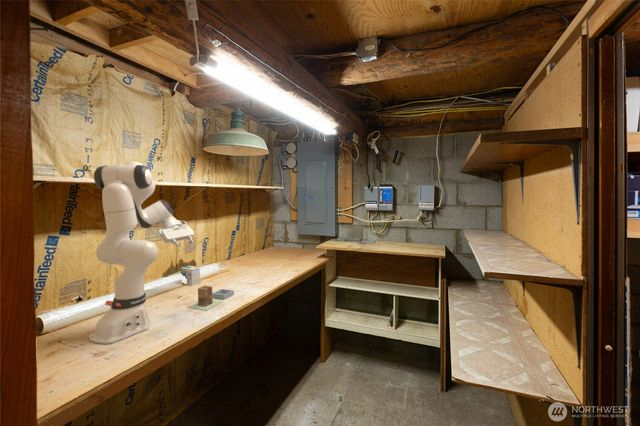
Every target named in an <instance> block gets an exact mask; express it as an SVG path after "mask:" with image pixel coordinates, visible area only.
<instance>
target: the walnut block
mask: <svg viewBox="0 0 640 426" xmlns="http://www.w3.org/2000/svg"><path fill="white" fill-rule="evenodd" d="M212 293H213V286H209V285H203V286H200V287H199V288H197V302H198V305H200V306H205V307H206V306H208V305H210V304H212V303H213V300H214V298H212Z"/></svg>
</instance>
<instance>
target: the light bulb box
mask: <svg viewBox="0 0 640 426" xmlns="http://www.w3.org/2000/svg"><path fill="white" fill-rule="evenodd" d="M181 274H182V275H183V276H185V278H186V279H187V285H186V286H189V287H190V286H191V287H194V286H196V285H199V284H201V267H200V266H194V265H186V266H182V267H180V275H181Z"/></svg>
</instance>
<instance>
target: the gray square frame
mask: <svg viewBox="0 0 640 426" xmlns="http://www.w3.org/2000/svg"><path fill="white" fill-rule="evenodd" d="M234 295H235V290H234V289H233V290H232V289H225V288H220V289H218V290H216V291H214V292H212V298H213V299H215V300H216V299H218V300H224V301H225V300H226V299H229V298H230V297H233V296H234Z"/></svg>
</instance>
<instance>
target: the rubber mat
mask: <svg viewBox="0 0 640 426" xmlns="http://www.w3.org/2000/svg"><path fill="white" fill-rule="evenodd" d="M222 303H223V301H220V300H216V299H215V300H214V299H213V303H212V304H210V305H208V306H206V307H205V306H200V305H198V301H197V302H195V303H193V304H191V305H189V306H188V309H189V308H190V309H193V310H194V309H195V310H201V311H206V312H207V311H210V310H211V309H213V308H214V307H217V306H218V305H221V304H222Z"/></svg>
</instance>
